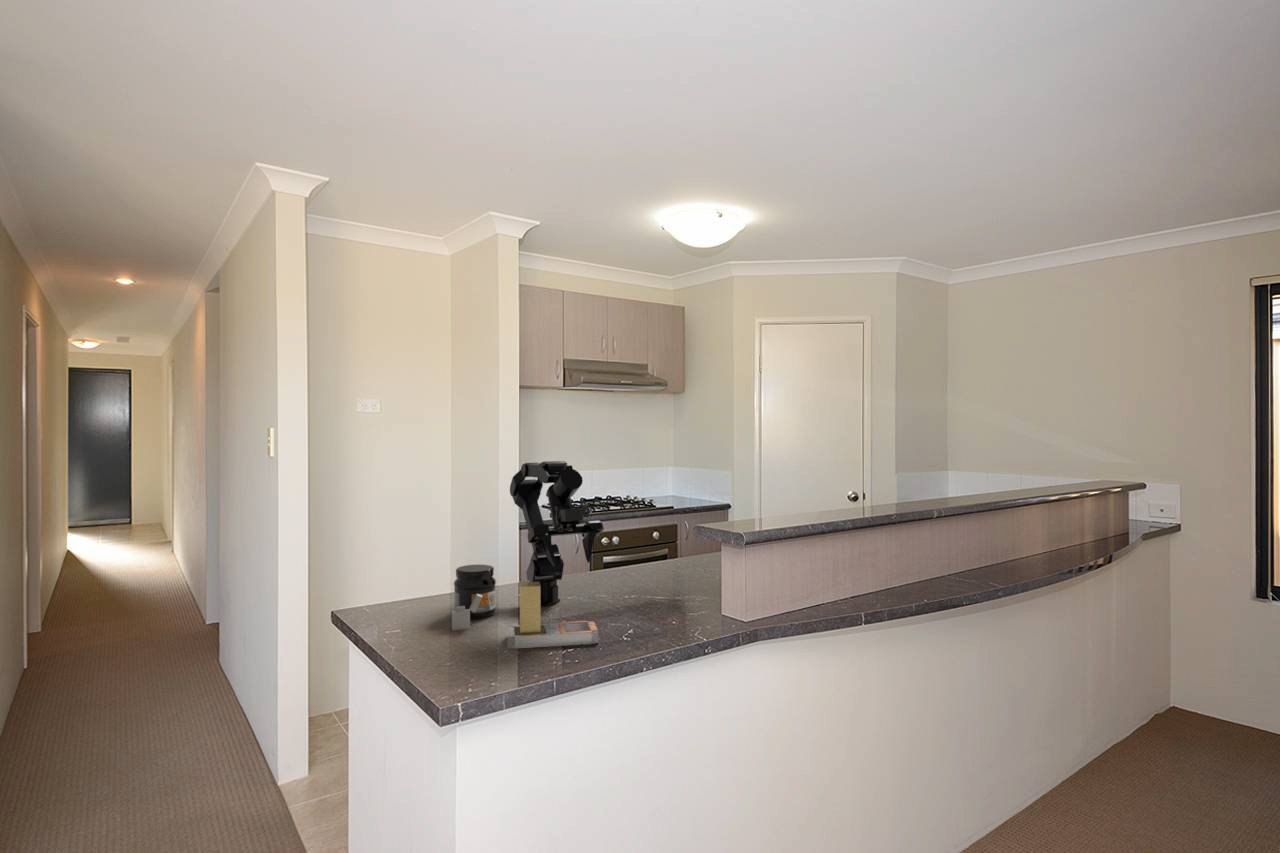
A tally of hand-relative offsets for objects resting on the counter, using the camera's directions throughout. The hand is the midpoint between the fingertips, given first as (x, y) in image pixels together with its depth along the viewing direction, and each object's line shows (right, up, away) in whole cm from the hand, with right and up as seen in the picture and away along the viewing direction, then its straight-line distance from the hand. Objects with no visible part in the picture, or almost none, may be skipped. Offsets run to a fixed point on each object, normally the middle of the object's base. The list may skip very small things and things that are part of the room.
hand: (572, 563), depth 177 cm
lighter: (-25, -15, -5) cm, 29 cm away
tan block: (-8, -15, -15) cm, 23 cm away
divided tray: (-3, -15, -15) cm, 21 cm away
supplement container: (-26, -15, +6) cm, 30 cm away
